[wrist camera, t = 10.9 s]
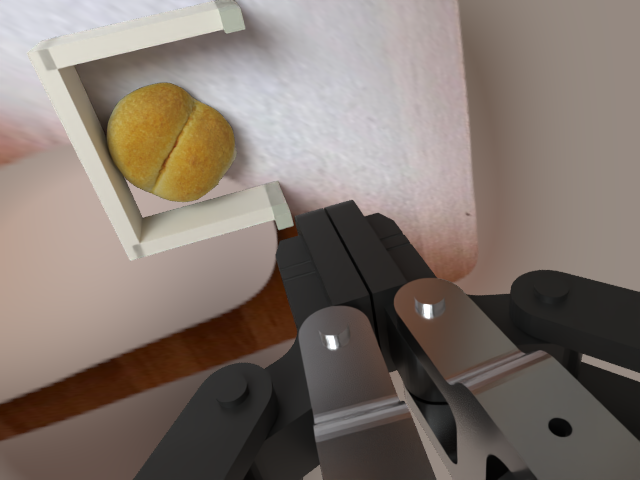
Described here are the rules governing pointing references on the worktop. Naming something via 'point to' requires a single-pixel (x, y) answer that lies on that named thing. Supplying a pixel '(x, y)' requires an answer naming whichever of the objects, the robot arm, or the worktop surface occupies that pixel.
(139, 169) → the bread roll
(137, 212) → the holder
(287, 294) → the robot arm
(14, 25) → the worktop surface
